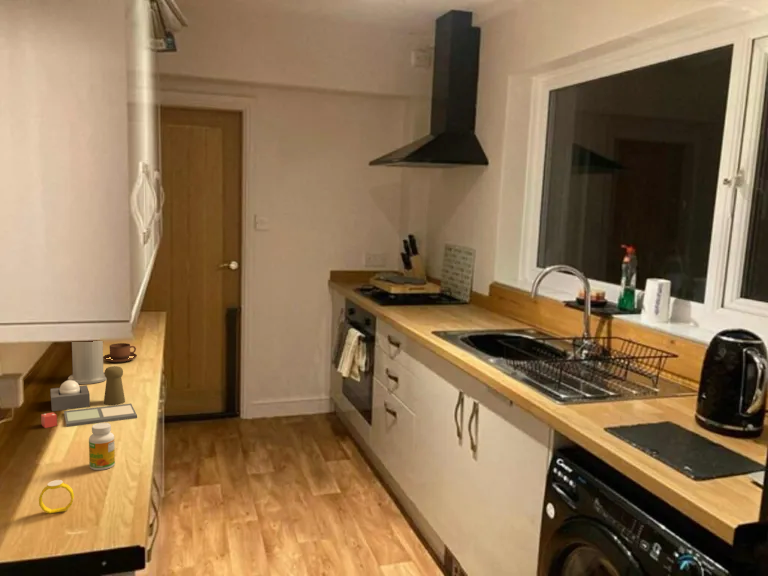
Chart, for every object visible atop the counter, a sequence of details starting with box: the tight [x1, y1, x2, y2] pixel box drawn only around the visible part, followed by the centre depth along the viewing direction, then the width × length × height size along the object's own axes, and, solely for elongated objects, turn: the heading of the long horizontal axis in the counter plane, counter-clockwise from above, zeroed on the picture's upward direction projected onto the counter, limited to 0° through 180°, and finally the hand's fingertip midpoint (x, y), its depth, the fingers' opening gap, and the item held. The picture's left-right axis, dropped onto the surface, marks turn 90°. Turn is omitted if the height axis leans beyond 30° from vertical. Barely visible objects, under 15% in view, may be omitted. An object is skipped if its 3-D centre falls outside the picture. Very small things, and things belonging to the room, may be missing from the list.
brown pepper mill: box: [103, 365, 126, 406], centre depth 194 cm, size 6×6×11 cm
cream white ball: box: [59, 379, 80, 395], centre depth 191 cm, size 5×5×5 cm
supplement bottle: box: [88, 422, 116, 471], centre depth 147 cm, size 5×5×10 cm
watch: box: [38, 479, 75, 515], centre depth 125 cm, size 6×3×6 cm, turn 109°
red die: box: [40, 411, 58, 429], centre depth 173 cm, size 3×3×3 cm
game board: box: [63, 403, 138, 428], centre depth 182 cm, size 12×18×1 cm, turn 119°
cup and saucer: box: [103, 342, 138, 363], centre depth 246 cm, size 12×12×6 cm
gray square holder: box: [50, 384, 91, 412], centre depth 192 cm, size 10×10×4 cm
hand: (87, 289), depth 192 cm, fingers open, 9 cm apart
